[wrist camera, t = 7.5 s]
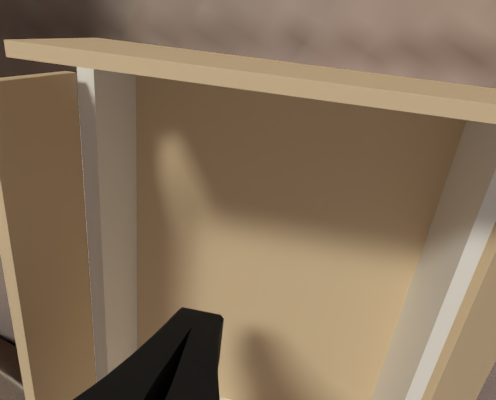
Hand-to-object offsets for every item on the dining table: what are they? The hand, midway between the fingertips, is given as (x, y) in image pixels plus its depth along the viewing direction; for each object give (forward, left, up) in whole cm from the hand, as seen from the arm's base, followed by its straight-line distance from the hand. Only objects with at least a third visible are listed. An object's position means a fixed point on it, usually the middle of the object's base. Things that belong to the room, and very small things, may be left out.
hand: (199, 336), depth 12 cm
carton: (-3, 0, -4) cm, 5 cm away
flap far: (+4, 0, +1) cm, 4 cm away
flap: (-2, -8, +1) cm, 8 cm away
